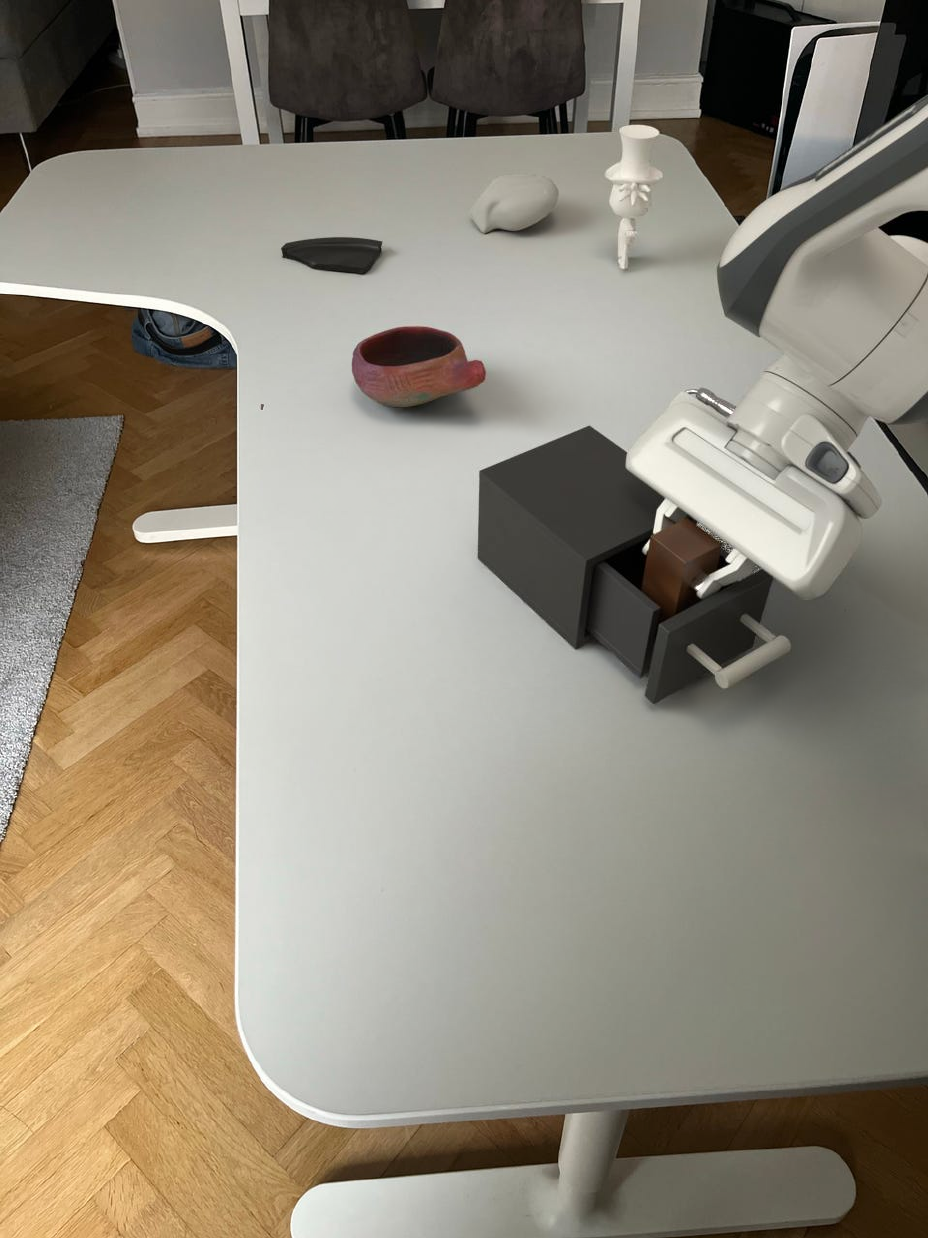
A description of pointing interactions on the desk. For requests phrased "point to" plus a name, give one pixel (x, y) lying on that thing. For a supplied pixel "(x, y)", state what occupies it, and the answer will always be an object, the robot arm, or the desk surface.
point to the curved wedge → (334, 253)
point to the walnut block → (678, 566)
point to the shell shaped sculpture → (514, 202)
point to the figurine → (632, 183)
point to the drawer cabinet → (561, 523)
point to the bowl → (413, 366)
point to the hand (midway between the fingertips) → (673, 576)
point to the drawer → (679, 627)
